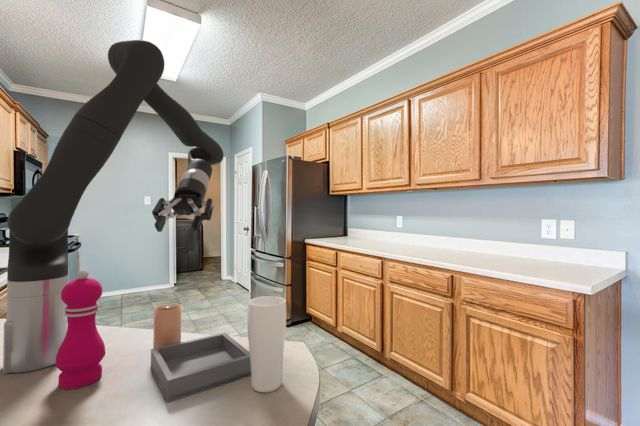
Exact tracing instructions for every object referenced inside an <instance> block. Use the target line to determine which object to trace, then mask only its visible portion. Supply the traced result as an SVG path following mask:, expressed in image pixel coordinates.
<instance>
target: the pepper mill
mask: <svg viewBox="0 0 640 426" xmlns="http://www.w3.org/2000/svg"><path fill="white" fill-rule="evenodd" d="M76 278H77V279H73V280H71V281H68V283H67V284H66V285H65V286H64V288H63V289H62V292H61V299H62V301H63V302H64V303H65V304H66V305H67V307H65V309H64V310H65V314H64V315H65V316H67V333H66V336H65V338H64V340H63V342H62V344H61V346H60V348H59V350H58V352H57V355H56V361H55V364H54V366H55V367H56V368H57V369H58V371H60V374H59V375H58V384H57V385H58V387H59V388H60V389H63V390H73V389H79V388H83V387H86V386H89V385H92V384H93V383H95V382H97V381H98V380H99V379H101V377H102V375H103V365H102V364H101V361H102V360H103V359H104V357H105V355H106V344H105V343H104V340H103V338H102V337H101V335H100V333H99V331H98V328H97V325H96V323H97V322H96V315H97V313H98V312H99V310H100V308H99V306H100V304H99V302H98V301H99V299H101V297H102V295H103V286H102V284H101V282H100V281H99V280H97V279H94V278H91V277H89V271H87V270H86V269H81V270H79V271H77V273H76Z"/></svg>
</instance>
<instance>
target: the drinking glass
mask: <svg viewBox="0 0 640 426" xmlns="http://www.w3.org/2000/svg"><path fill="white" fill-rule="evenodd" d="M286 301H287V300H286V299H285V298H284V297H280V296H275V295H273V296H272V295H270V296H269V295H265V296H264V295H263V296H256V297H254V298H251V299H249V300H248V302H247V335H248V336H247V338H248V351H249V352H250V366H251V375H250V386H251V388H252V389H253V390H254V391H256V392H257V393H258V392H259V393H266V394H267V393H271V392H274V391H277V389H279V388H280V387H281V385H282V383H283V377H282V376H283V373H282V372H283V362H284V361H283V360H284V352H285V351H284V349H285V339H286V330H287V302H286Z"/></svg>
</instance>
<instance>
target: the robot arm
mask: <svg viewBox="0 0 640 426" xmlns="http://www.w3.org/2000/svg"><path fill="white" fill-rule="evenodd" d="M164 58H165V57H164V55H163V53H162V51H161V49H160V48H159V47H158V46H157V45H156V44H154V43H153V42H151V41H149V40H144V39H134V40H133V39H131V40H122V41H117V42H114V43H113V44H111V45H110V46H109V48H108V51H107V61H108V64H109V65H110V68H111V70H113V72H114V74H115V76H114V77H113V79H112V80H111V81H110V83H109V84H107V85H106V87H104V88H103V89H102V90H101V91H99V92H98V93H97V94H95V95H94V96H92V97H91V98H90V99H89V100H88V101H86V102H85V103H84V104H83V105H82V106H81V107H79V109H78V110H77V111H76V113H75V114H74V115H73V117H72V118H71V120H70V121H69V123H68V125H67V126H66V127H65V129H64V131H63V132H62V133H61V134H62V135H61V137H60V139H59V140H58V142H57V143H56V146H55V148H54V150H53V151H52V152H53V153H52V154H51V156H50V159H49V162H48V163H47V166H46V167H45V170H44V171H43V173H42V174H41V175H40V177H39V178H38V180H37V181H36V182H35V183H34V184H33V186H31V189H30V190H29V191H28V192H27V193H26V194H25V195H24V197H23V198H22V199H21V200H20V201H19V202H18V203H17V204H16V205H15V206H14V207H13V208H12V209H11V211H10V213H8V217H7V227H8V230H9V237H8V239H9V240H8V259H7V269H6V270H7V271H6V272H7V276H6V277H7V278H6V279H7V283H6V320H5V321H4V322H3V342H2V343H3V346H2V347H3V350H2V351H3V353H2V356H3V357H2V374H3V375H5V374H11V373H25V372H26V373H27V372H33V371H37V370H41V369H44V368H48V367H50V366H53V365H55V361H56V355H57V352H58V350H59V348H60V346H61V344H62V342H63V340H64V338H65V336H66V333H67V327H68V319H67V316H65V315H64V314H65V310H64V309H65V307H67V305H66V304H65V303H64V302H63V301H62V299H61V292H62V289H63V288H64V286H65V285H66V284H67V283H69V252H68V250H69V249H68V248H69V246H68V245H69V227H70V225H71V223H72V222H71V221H72V220H73V217H74V215H75V212H76V210H77V208H78V206H79V203H80V201H81V199H82V197H83V195H84V193H85V191H86V189H87V188H88V186H89V185H90V183H91V182H92V181H93V179H94V178H95V177H96V176H97V175H98V173H100V171H101V170H102V169H103V167H104V166H105V164H106V162H107V161H108V160H109V159H110V157H111V156H112V154H113V153H114V151H115V149H116V147H117V146H118V144H119V143H120V141H121V138H122V137H123V135H124V133H125V131H126V129H127V128H128V126H129V125H130V123H131V122H132V119H133V118H134V117H135V115H136V113H137V112H138V109H139V107H140V106H141V104H142V103H143V101H144V102H145V103H146V104H147V105H148V106H149V107H150V108H151V109H153V111H154V112H155V113H156V114H157V115H158V116H159V117H160V118H161V119H162V120H163V122H164V123H165V125H167V126H168V127H169V129H170V130H171V131H172V133H174V135H175V136H176V137H177V138H178V139H179V141H180V142H181V143H182V145H184V146H185V147H191V148H190V149H189V151H188V152H187V167H186V170H184V171H185V172H184V173H183V175H182V176H181V178H180V180H179V182H178V184H177V187H176V189H175V192H174V195H173V197H172V198H171V199H170V200H165V198H164V197H160V198H159V199H158V201H157V203H156V204H155V206H154V208H153V209H152V211H151V214H152V216H153V219H154V220H155V223H154V228H155V229H156V231H157V232H159V233H162V231H163V229H164V228H165V225H166V223H167V222H166V221H168V220H170V219H174V218H175V217H177V216H191V215H193V216H194V217H193V221H192V223H191V227H190V228H191V230H192V232H193V233H197V231H199V230H200V229H201V226H202V222H204V221H210V220H212V216H213V211H214V207H215V206H214V201H213V199H212V198H211V197H210V198H207V199H206V200H205V197H206V194H207V192H208V189H209V184H210V181H211V177H212V174H213V167H212V166H213V165H214V166H215V165H218V164H220V163H221V162H223V160H224V151H223V149H222V146H221V145H220V144H219V143H218V142H217V141H216V140H215V139H214V138H212V137H211V136H210V135H209V134H207V132H205V131H204V130H203V129H202V128H201V127H200V125H199V124H198V122H196V120H195V118H194V116H193V115H192V114H191V113H190V112H189V111H188V110H187V109H186V108H185V107H184V106H182V105H181V104H180V103H179V102H178V101H177V100H175V98H173V97H171V95H169V94H168V93H167V91H165V90H164V89H163V88H162V86H160V85H159V83H158V82H159V81H160V80H161V78H162V76H163V74H164V70H165V59H164ZM203 207H204V211H203V212H201V211H200V209H202V208H203ZM172 210H173V211H172Z"/></svg>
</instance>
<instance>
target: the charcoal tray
mask: <svg viewBox="0 0 640 426" xmlns="http://www.w3.org/2000/svg"><path fill="white" fill-rule="evenodd" d="M150 368H151V370H152V373H153V374H154V376H155V379H156V382H158V385H159V387H160V390H161V392H162V393H163V396H164V398H165V400H166V402H167V403H171V402H174V401H178V400H180V399H183V398H186V397H189V396H192V395H195V394H198V393H201V392H205V391H208V390H211V389H214V388H216V387H219V386H222V385H225V384H228V383H232V382H235V381H238V380H241V379H244V378H247V377H251V366H250V352H249V349H247V348H245V347H244V346H243V345H242V344H240V343H239V342H238V341H236V340H235V339H234V338H233V337H231V336H230V335H229V334H227V333H226V332H221V333H217V334H211V335H208V336H203V337H199V338H194V339H190V340H186V341H181V342H180V343H176V344H172V345H167V346H163V347H158V348H154V349H153V348H151V349H150Z"/></svg>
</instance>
